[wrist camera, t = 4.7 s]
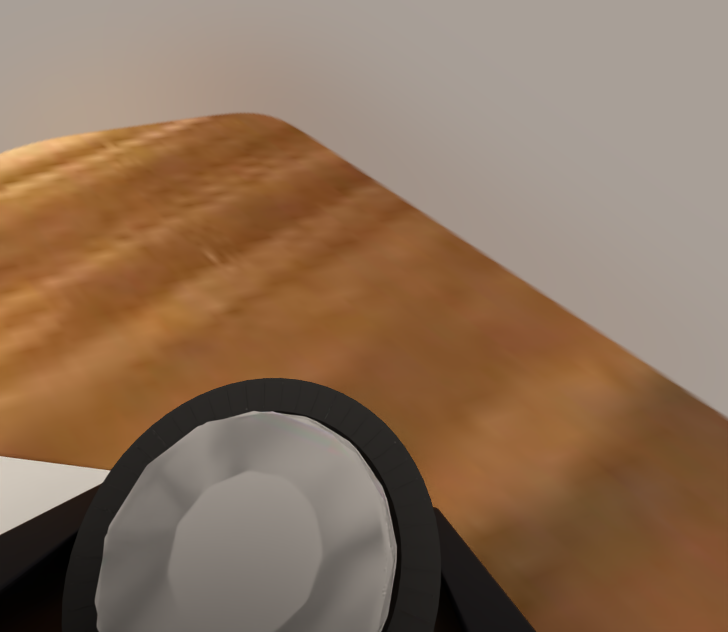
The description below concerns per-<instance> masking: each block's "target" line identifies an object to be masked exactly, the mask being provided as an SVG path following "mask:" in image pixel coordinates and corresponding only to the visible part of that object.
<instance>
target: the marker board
mask: <svg viewBox="0 0 728 632" xmlns="http://www.w3.org/2000/svg"><path fill="white" fill-rule="evenodd" d="M109 472H110V471H109V470H102V469H94V468H86V467H78V466H71V465H63V464H55V463H47V462H40V461H32V460H24V459H17V458H9V457H1V456H0V535H1V534H3V533H4V532H6V531H8V530H10V529H12V528H14V527H16V526H18V525H20V524H22V523H24V522H26V521H28V520H30V519H32V518H34V517H36V516H38V515H40V514H42V513H44V512H46V511H48V510H50V509H52V508H54V507H56V506H58V505H60V504H62V503H64V502H66V501H68V500H70V499H72V498H74V497H76V496H78V495H79V494H81V493H83V492H85V491H87V490H89V489H91V488H93V487H95V486H97V485H99V484H101V483H103V481H104V480H105V478H106V477H107V475H108V474H109Z"/></svg>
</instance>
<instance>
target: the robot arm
mask: <svg viewBox="0 0 728 632" xmlns="http://www.w3.org/2000/svg"><path fill="white" fill-rule="evenodd" d="M101 484H102V483H101ZM101 484H99V485H97V486H95V487H93V488H91V489H89V490H87V491H85V492H83V493H81V494H79V495H78V496H76V497H74V498H72V499H70V500H68V501H66V502H64V503H62V504H60V505H58V506H56V507H54V508H52V509H50V510H48V511H46V512H44V513H42V514H40V515H38V516H36V517H34V518H32V519H30V520H28V521H26V522H24V523H22V524H20V525H18V526H16V527H14V528H12V529H10V530H8V531H6V532H4V533H3V534H1V535H0V632H62V624H61V623H62V600H63V592H64V585H65V578H66V573H67V569H68V564H69V560H70V556H71V552H72V549H73V546H74V543H75V540H76V537H77V534H78V531H79V528H80V526H81V524H82V521H83V519H84V517H85V514H86V512H87V510H88V508H89V506H90V504H91V502H92V500H93V498H94V497H95V495H96V493H97V491H98V489H99V488H100V486H101ZM433 510H434V514H435V517H436V523H437V528H438V534H439V541H440V553H441V586H440V596H439V606H438V611H437V616H436V621H435V626H434V631H433V632H536V631H535V630H534V628H533V627H532V626H531V625H530V623H529V622H528V621H527V620H526V618H525V617H524V616H523V615H522V613H521V612H520V611H519V609H518V608H517V607H516V606H515V604H514V603H513V602H512V601H511V599H510V598H509V597H508V596H507V594H506V593H505V592H504V591H503V589H502V588H501V587H500V586H499V584H498V583H497V582H496V581H495V579H494V578H493V577H492V576H491V574H490V573H489V572H488V571H487V569H486V568H485V567H484V566H483V564H482V563H481V562H480V561H479V559H478V558H477V557H476V556H475V554H474V553H473V552H472V550H471V549H470V548H469V547H468V545H467V544H466V543H465V542H464V540H463V539H462V538H461V537H460V535H459V534H458V533H457V532H456V530H455V529H454V528H453V527H452V525H451V524H450V523H449V522H448V520H447V519H446V518H445V517H444V515H443V514H442V513H441V512H440V510H439V509H437V508H435V507H433Z"/></svg>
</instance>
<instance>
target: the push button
mask: <svg viewBox="0 0 728 632" xmlns="http://www.w3.org/2000/svg"><path fill="white" fill-rule="evenodd" d="M440 586H441V553H440V541H439V534H438V528H437V523H436V517H435V514H434V510H433V506H432V503H431V499H430V496H429V494H428V491H427V488H426V486H425V483H424V480H423V478H422V476H421V474H420V472H419V470H418V468H417V466H416V464H415V462H414V461H413V459H412V458H411V456H410V454H409V453H408V451H407V449H406V448H405V447H404V445H403V444H402V443H401V441H400V440H399V439H398V437H397V436H396V435H395V434H394V433H393V432H392V430H391V429H390V428H389V427H388V426H387V425H386V424H385V423H384V422H383V421H382V420H381V419H380V418H378V417H377V416H376V415H375V414H374V413H373V412H371V411H370V410H369V409H367V408H366V407H364V406H363V405H362V404H360V403H359V402H357V401H355V400H354V399H352V398H350V397H348V396H346V395H345V394H343V393H340V392H338V391H336V390H333V389H331V388H328V387H325V386H322V385H319V384H315V383H312V382H307V381H302V380H296V379H284V378H263V379H254V380H247V381H242V382H237V383H232V384H229V385H226V386H222V387H219V388H216V389H213V390H211V391H209V392H206V393H204V394H201V395H199V396H197V397H195V398H193V399H191V400H189V401H187V402H186V403H184V404H182V405H180V406H179V407H177V408H176V409H174V410H173V411H171V412H169V413H168V414H166V415H165V416H164V417H163V418H161V419H160V420H159V421H157V422H156V423H155V424H153V425H152V426H151V427H150V428H149V429H148V430H147V431H146V432H144V433H143V434H142V435H141V436H140V437H139V438H138V439H137V440H136V441H135V442H134V443H133V444H132V445H131V446H130V448H129V449H128V450H127V451H126V452H125V453H124V454H123V455H122V457H121V458H120V459H119V460H118V462H117V463H116V464H115V466H114V467H113V468H112V469H111V471H110V472H109V474H108V475H107V477H106V478H105V480H104V481H103V483H102V484H101V486H100V488H99V489H98V491H97V493H96V495H95V497H94V498H93V500H92V502H91V504H90V506H89V508H88V510H87V512H86V514H85V517H84V519H83V521H82V524H81V526H80V528H79V531H78V534H77V537H76V540H75V543H74V546H73V549H72V552H71V556H70V560H69V564H68V569H67V573H66V578H65V585H64V592H63V600H62V623H61V624H62V632H433V631H434V626H435V621H436V616H437V611H438V606H439V596H440Z"/></svg>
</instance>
